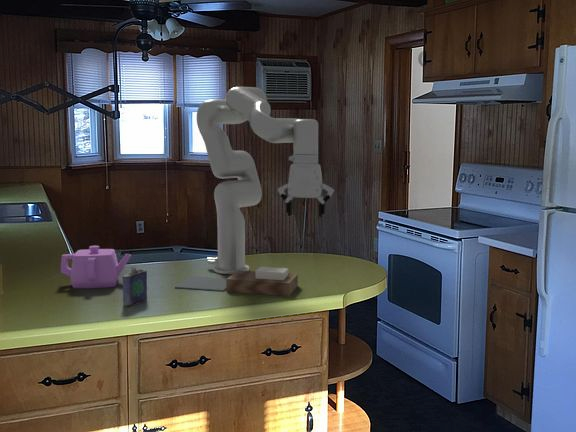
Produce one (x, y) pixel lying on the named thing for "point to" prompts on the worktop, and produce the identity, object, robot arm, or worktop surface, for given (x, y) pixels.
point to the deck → (260, 284)
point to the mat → (203, 284)
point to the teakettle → (93, 267)
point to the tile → (271, 273)
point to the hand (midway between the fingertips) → (305, 215)
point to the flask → (134, 287)
